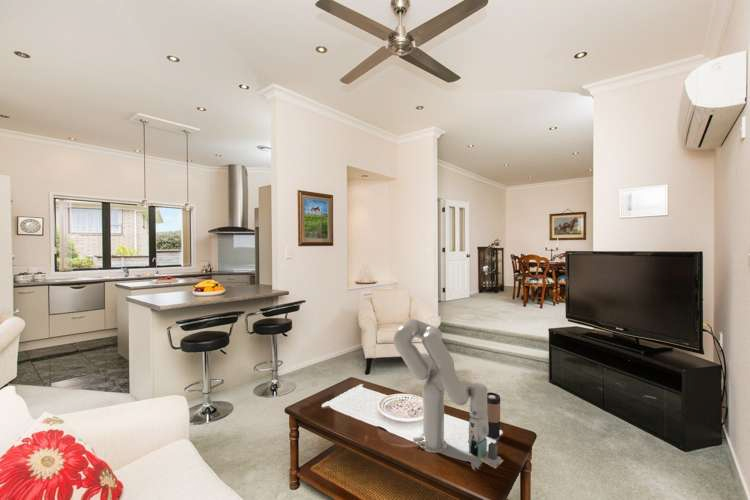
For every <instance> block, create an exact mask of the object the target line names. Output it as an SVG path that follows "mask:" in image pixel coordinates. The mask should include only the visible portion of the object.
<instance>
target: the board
mask: <svg viewBox="0 0 750 500" xmlns="http://www.w3.org/2000/svg"><path fill="white" fill-rule="evenodd" d="M466 454H467V455H468V456H471V457H473V458H475V459H477V460H479V461H480V462H483V463H484V464H486V465H488V466H490V467H492V468H494V469H497V468H498V467H499V466H500V465H501V464H502V463H503V462H504V459H502V458H501V461H500V462H499V463H498V464H497V465H496V466H495V465H493V464H491V463H489V462H487V461H485V457H486V456H487V455H488V451H487V453H486V454H485V455H484V456H483V457H482V458H481V459H480V458H478V457H476V456H474V455H472V454H470V453H469V451H468V452H467V453H466Z"/></svg>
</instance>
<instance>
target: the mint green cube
mask: <svg viewBox="0 0 750 500" xmlns="http://www.w3.org/2000/svg"><path fill="white" fill-rule="evenodd" d="M473 443H474V444H475V441H473ZM477 447H478V456H477V457H478V458H480V459H481V458H482V457H483V456H484V455H485V454H486V453H487V452H488V448H487V447H488V439H487V437H485V438H484V439H483V440H482V441H480V442H478V443H477ZM468 452H469V453H470V454H471V446H470V444H469V443H468ZM472 455H473V454H472ZM474 456H475V455H474Z"/></svg>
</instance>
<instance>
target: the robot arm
mask: <svg viewBox="0 0 750 500" xmlns="http://www.w3.org/2000/svg"><path fill="white" fill-rule="evenodd" d="M415 338H418V339H420V340H421V342H422V345H423V347H424V349H425V351H426V352H427V353H423V352H422V353H421V352H420V351H419V349H418V348H417V346H416V345H415V344H413V340H414V339H415ZM442 339H443V332H442V330H440V329H439V328H438V327H436V326H434V325H431V324H429V323H426V322H422V321H420V320H419V319H415V318H409V319H406V320H405V321H404V322H403V323H401V324H400V325H399V327H398V328H397V330H396V331H395V334H394V336H393V344H394V348H395V350H396V351H397V353H398V354H399V355H400V357H401V359H402V360H403V362H404V364H405V365H406V366H407V368H408V370H409V371H410V373H411V374H412V375H413V377H414V378H415V379H416V380H418V381H425V382H424V385H423V387H422V403H423V405H422V406H423V408H422V411H423V417H422V419H423V422H422V423H423V424H422V425H423V427H422V428H423V429H422V432H423V433H421V436H417V437H413V439H412V441H413V443H416V444H417V445H419V446H420V448H421V449H423V450H424V451H426V452H430V453H434V454H435V453H442V452H444V451H446V450H447V448H448V443H447V441H446V440H445V402H444V401H445V400H444V399H445V398H444V397H445V392H446V393H447V395H448V397H449V398H450V400H451V401H452V402H453V403H454V404H456V405H458V406H464V405H465V404H467V402H468V401H469V420H468V439H467V443H468V445H469V444H470V446H471V454H473V455H475V456H476V457H477V456H478V447H477V443H478V442H480V441H482V440H483V439H484V438H488V437H487V436H488V434H489V426H488V416H487V393H488V388H487V386H486V385H485V384H483V383H479V382H472V381H468V380H465V379H459V378H458V376H457V372H456V369H455V364H454V360H453V356H452V355H451V353H450V351H449V350H448V349H447V347H446V346H445V344H444V342H443V340H442ZM473 441H475V444H474V443H473Z"/></svg>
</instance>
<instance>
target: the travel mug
mask: <svg viewBox="0 0 750 500" xmlns="http://www.w3.org/2000/svg"><path fill="white" fill-rule="evenodd" d="M487 416H488V426H489V434H488V436H487V437H486V438H489V439H498V438H500V434H501V433H500V431H501V396H500V394H498V393H495V392H487Z"/></svg>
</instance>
